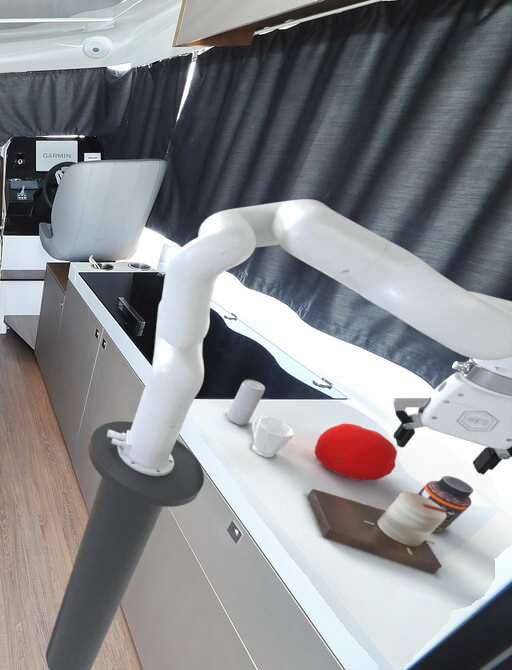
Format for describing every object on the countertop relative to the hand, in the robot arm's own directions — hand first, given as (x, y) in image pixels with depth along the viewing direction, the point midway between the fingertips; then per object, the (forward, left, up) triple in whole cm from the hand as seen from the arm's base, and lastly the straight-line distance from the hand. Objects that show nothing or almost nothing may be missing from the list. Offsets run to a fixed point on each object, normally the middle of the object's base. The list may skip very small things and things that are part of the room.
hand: (436, 455), depth 75 cm
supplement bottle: (+10, +7, -21) cm, 24 cm away
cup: (-17, +17, -21) cm, 32 cm away
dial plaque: (-2, -2, -21) cm, 21 cm away
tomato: (0, +17, -21) cm, 27 cm away
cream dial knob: (+2, -2, -18) cm, 18 cm away
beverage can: (-20, +26, -21) cm, 39 cm away
